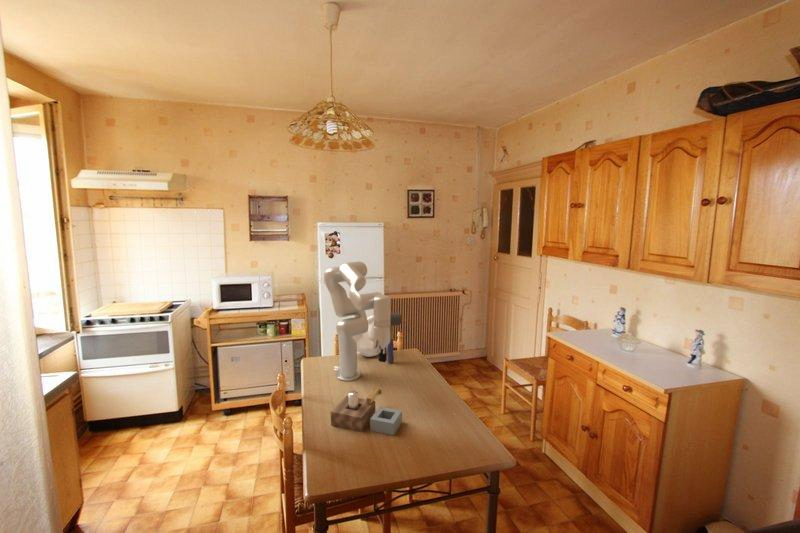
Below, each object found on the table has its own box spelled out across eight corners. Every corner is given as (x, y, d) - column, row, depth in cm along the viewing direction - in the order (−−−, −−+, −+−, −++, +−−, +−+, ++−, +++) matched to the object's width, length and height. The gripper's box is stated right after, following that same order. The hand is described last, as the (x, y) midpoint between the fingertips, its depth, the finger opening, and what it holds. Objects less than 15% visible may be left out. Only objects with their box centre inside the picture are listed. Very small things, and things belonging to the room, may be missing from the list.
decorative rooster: (379, 348, 238) (379, 311, 235) (387, 356, 223) (386, 317, 220) (341, 352, 230) (340, 314, 226) (346, 362, 215) (345, 321, 212)
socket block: (331, 425, 151) (330, 411, 150) (347, 408, 164) (346, 395, 163) (361, 431, 146) (361, 417, 145) (375, 413, 159) (375, 401, 158)
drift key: (365, 403, 156) (364, 397, 156) (374, 392, 166) (374, 386, 166) (372, 404, 155) (372, 399, 155) (382, 393, 165) (382, 388, 164)
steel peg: (347, 421, 154) (346, 394, 152) (351, 416, 158) (351, 390, 156) (356, 422, 153) (355, 395, 151) (360, 417, 156) (359, 391, 155)
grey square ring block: (370, 430, 147) (370, 418, 146) (380, 417, 156) (379, 406, 156) (393, 435, 144) (393, 423, 143) (401, 421, 153) (401, 410, 152)
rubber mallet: (399, 359, 219) (399, 310, 215) (402, 364, 212) (401, 314, 208) (379, 361, 217) (378, 312, 213) (380, 366, 210) (380, 315, 205)
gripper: (380, 317, 174) (381, 354, 176) (367, 326, 160) (368, 366, 162) (395, 319, 171) (396, 356, 174) (383, 328, 157) (384, 368, 160)
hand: (382, 361), depth 168 cm, fingers closed
